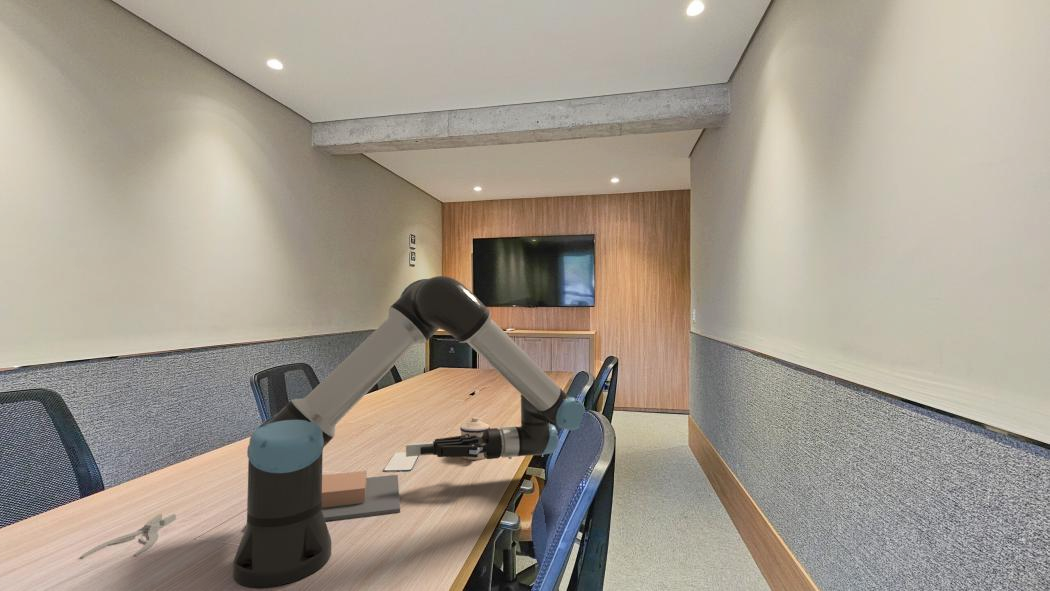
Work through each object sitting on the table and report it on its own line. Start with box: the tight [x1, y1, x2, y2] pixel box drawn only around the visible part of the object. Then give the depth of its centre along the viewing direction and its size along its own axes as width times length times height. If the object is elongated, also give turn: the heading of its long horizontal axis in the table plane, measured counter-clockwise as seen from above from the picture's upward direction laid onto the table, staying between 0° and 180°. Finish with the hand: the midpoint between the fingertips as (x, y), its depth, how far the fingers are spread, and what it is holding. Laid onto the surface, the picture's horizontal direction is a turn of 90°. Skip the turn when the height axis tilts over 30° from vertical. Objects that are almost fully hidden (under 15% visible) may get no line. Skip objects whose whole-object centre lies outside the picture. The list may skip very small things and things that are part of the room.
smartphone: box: [383, 451, 420, 472], centre depth 133 cm, size 8×1×16 cm
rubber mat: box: [244, 474, 401, 529], centre depth 105 cm, size 22×30×1 cm
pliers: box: [79, 513, 177, 560], centre depth 88 cm, size 10×2×15 cm
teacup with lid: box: [460, 416, 491, 461], centre depth 138 cm, size 12×9×12 cm
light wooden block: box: [322, 470, 368, 508], centre depth 105 cm, size 12×3×18 cm
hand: (406, 450), depth 111 cm, fingers closed
